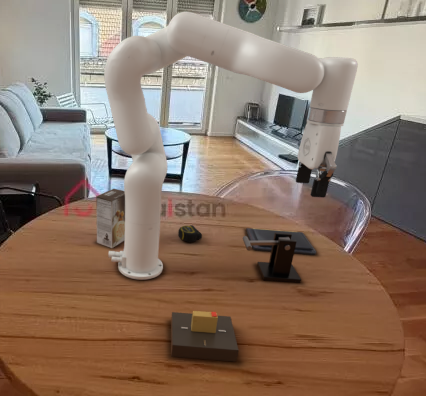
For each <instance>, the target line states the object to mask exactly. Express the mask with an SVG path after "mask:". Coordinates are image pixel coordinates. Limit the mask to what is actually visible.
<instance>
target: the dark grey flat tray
mask: <svg viewBox="0 0 426 396" xmlns="http://www.w3.org/2000/svg"><path fill="white" fill-rule="evenodd" d="M245 230H246V234H247V237H248V239H249V241H263V240H274V234H275V232H279V233H291V234H292V237H291V240H296V247H295V251H294V255H295V254H297V255H306V256H307V255H308V256H316V254H317V251H316V248H314V246H313V245H312V243H311V242H310V241H309V239H308V238H307V236H306V235H305V234H304V232H303V231H293V230H282V229H281V230H280V229H268V228H267V229H266V228H255V227H254V228H252V227H251V228H250V227H246V229H245ZM252 250H253V251H260V252H270V253H271V250H272V245H252Z"/></svg>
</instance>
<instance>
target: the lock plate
mask: <svg viewBox="0 0 426 396" xmlns="http://www.w3.org/2000/svg"><path fill="white" fill-rule="evenodd" d="M217 316H218V320H217V326H216V333H208V332H195V331H191V322H192V313H190V312H189V313H188V312H177V311H176V312H175V311H172V312H171V317H170V319H171V320H170V346H171V347H170V357H173V358H185V359H186V358H187V359H196V360H197V359H200V360H210V361H224V362H234V363H235V362H237V360H238V356H239V346H238V343H237V338H236V333H235V330H234V325H233V321H232V317H231V316H229V315H227V316H226V315H217Z"/></svg>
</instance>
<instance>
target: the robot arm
mask: <svg viewBox="0 0 426 396" xmlns="http://www.w3.org/2000/svg"><path fill="white" fill-rule="evenodd" d="M187 57H190V58H193V59H195V60H198V61H202V62H203V63H206V64H210V65H213V66H215V67H217V68H221V69H224V70H227V71H229V72H232V73H234V74H238V75H244V76H248V77H251V78H254V79H258V80H260V81H263V82H266V83H269V84H271V85H274V86H277V87H280V88H282V89H284V90H285V89H286V90H288V91H291V92H293V93H296V94H297V93H298V94H306V93H310V92H312V94H311V99H310V102H309V108H308V113H307V118H306V124H305V127H304V129H303V133H302V135H301V141H300V143H299V148H298V151H297V155H296V156H297V160H298V161H299V162H298V168H297V173H296V178H295V182H296V184H309V183H310V180H311V176H312V172H313V170H314V171H315V178H314V179H313V182H312V187H311V190H310V197H312V198H326V196H327V192H328V188H329V185H330V182H331V180H332V177H333V176H334V173H335V171H336V169H337V164H336V159H337V155H338V149H339V144H340V139H341V129H342V127H343V126H344V124H345V120H346V117H347V112H348V107H349V105H350V104H349V103H350V100H351V97H352V96H351V95H352V92H353V88H354V84H355V79H356V76H357V71H358V65H359V64H358V61H357V60H356V59H354V58H352V57H341V56H326V57H323V58H322V57H318V56H317V55H314V54H312V53H310V52H307V51H304V50H301V49H298V48H295V47H292V46H291V45H290V46H289V45H287V44H283V43H280V42H277V41H275V40H271V39H269V38H266V37H263V36H260V35H258V34H255V33H253V32H250V31H247V30H244V29H241V28H238V27H235V26H232V25H229V24H227V23H224V22H221V21H218V20H215V19H213V18H210V17H208V16H207V17H206V16H204V15H201V14H199V13H195V12H191V11H181V12H178V13H176V14H175V15H174V16H173V17H172V18H171V19H170V21H169V23H168V25H166V26H165V27H163V28H160V29H159V30H156V31H155V32H153V33H150V34H149V35H147V36H142V35H131V36H129V37H126V38H124V39H122V40H121V41H120V42H119V43H118V44H117V45H116V46H115V47H114V48H113V49H112V51H111V52H110V53H109V55H108V57H107V59H106V62H105V65H104V72H103V73H104V74H103V77H104V78H103V79H104V80H103V81H104V86H105V91H106V95H107V98H108V102H109V107H110V112H111V116H112V120H113V125H114V130H115V133H116V137H117V142H118V145H119V147H120V149H121V150H122V151H123V152H124V153H125V154H127V155H129V156H131V160H132V163H131V164H130V165H129V166H128V168H127V170H126V172H125V175H124V180H123V191H125V240H124V241H123V242H124V246H123V250H120V251H115V250H108V254H107V257H108V258H109V259H111V262H113V263H117V265H118V266H117V268H118V271H119V272H120V273H121V275H123V276H125V277H126V278H129V279H132V280H138V281H139V280H140V281H143V280H151V279H154V278H156V277H158V276H160V275H161V274H162V272H163V269H164V264H163V262H162V260H161V259H160V258H159V248H160V235H161V234H160V233H161V220H162V219H161V217H162V194H163V193H162V191H163V184H164V181H165V180H166V177H167V173H168V161H167V156H166V152H165V147H164V141H163V136H162V132H161V128H160V125H159V123H158V121H157V119H156V118H155V117H154V116H153V115H152V114H150V113H149V112H148V108H147V104H146V98H145V95H144V91H143V89H142V83H141V81H142V77H143V76H148V75H151V74H153V73H156V72H157V71H160V70H161V69H164V68H166V67H168V66H170V65H172V64H174V63H176V62H178V61H181V60H182V59H184V58H187ZM321 172H322V173H321Z"/></svg>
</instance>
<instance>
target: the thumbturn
mask: <svg viewBox="0 0 426 396" xmlns="http://www.w3.org/2000/svg"><path fill="white" fill-rule="evenodd" d="M191 314H192V322H191V331H195V332H208V333H216V326H217V320H218V316H219V315H218V312H217V311H201V310H200V311H199V310H193V311H192V313H191Z"/></svg>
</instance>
